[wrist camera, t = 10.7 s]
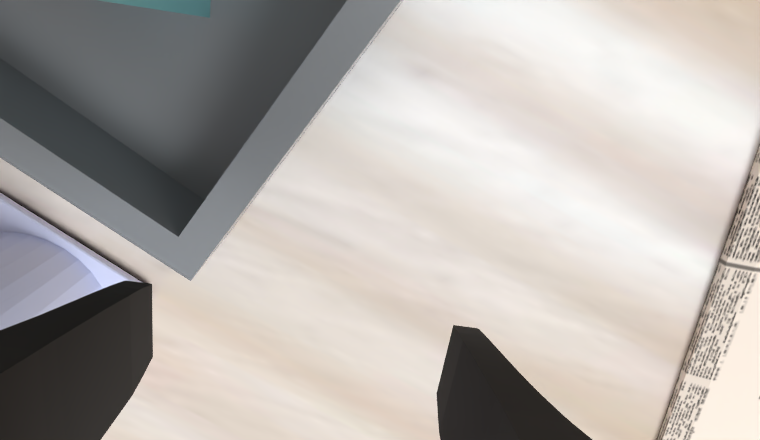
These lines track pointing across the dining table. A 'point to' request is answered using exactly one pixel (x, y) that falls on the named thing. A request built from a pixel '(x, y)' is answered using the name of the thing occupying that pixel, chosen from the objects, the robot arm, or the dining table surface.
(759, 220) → the newspaper
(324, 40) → the bin
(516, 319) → the dining table surface
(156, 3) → the strut
